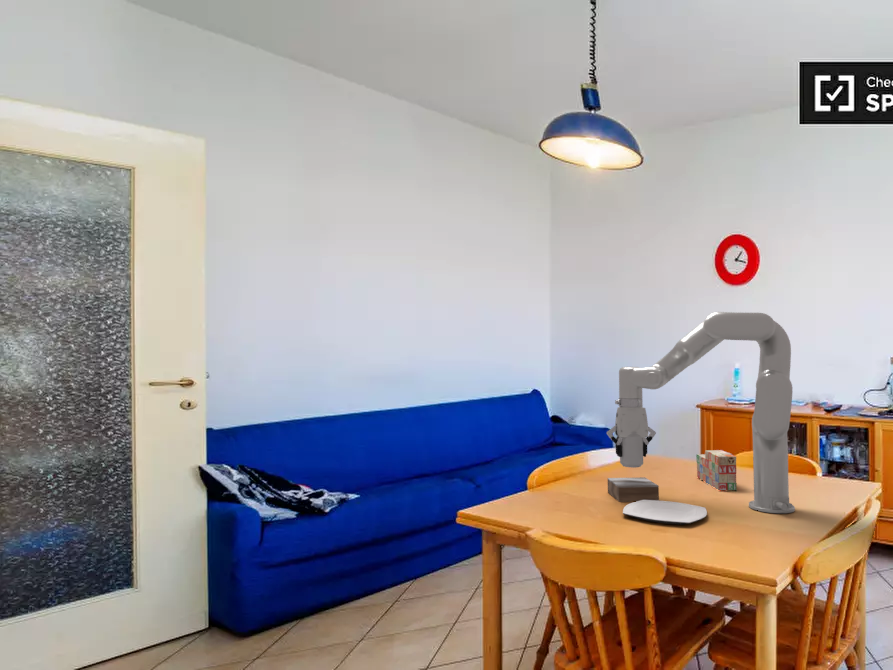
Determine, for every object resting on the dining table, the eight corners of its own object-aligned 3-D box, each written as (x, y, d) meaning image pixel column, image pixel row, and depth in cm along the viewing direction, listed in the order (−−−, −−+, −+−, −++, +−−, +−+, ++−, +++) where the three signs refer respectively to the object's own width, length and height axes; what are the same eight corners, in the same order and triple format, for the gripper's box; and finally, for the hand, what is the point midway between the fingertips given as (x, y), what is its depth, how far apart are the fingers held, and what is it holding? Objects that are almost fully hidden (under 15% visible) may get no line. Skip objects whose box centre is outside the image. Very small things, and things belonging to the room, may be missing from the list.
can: (617, 463, 214) (617, 428, 214) (639, 463, 214) (639, 428, 214) (623, 468, 206) (622, 431, 207) (646, 468, 206) (645, 431, 206)
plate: (638, 503, 202) (638, 497, 202) (714, 513, 189) (714, 506, 189) (613, 519, 184) (613, 513, 184) (695, 532, 170) (695, 525, 170)
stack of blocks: (696, 478, 238) (696, 446, 238) (713, 478, 237) (712, 446, 238) (718, 491, 216) (717, 455, 217) (737, 491, 216) (736, 455, 216)
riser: (658, 501, 203) (658, 485, 204) (619, 501, 203) (618, 486, 203) (645, 491, 216) (644, 477, 217) (607, 492, 216) (607, 478, 216)
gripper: (608, 404, 206) (608, 458, 206) (660, 404, 207) (661, 457, 207) (602, 402, 214) (602, 454, 214) (652, 402, 214) (653, 454, 214)
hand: (631, 455), depth 210 cm, fingers closed on can, 7 cm apart
